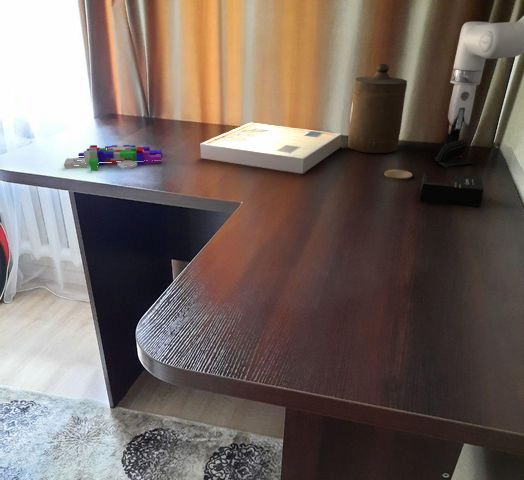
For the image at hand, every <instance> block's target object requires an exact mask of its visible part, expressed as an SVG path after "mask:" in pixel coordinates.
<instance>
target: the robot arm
mask: <svg viewBox="0 0 524 480" xmlns="http://www.w3.org/2000/svg"><path fill="white" fill-rule="evenodd" d="M455 53H456V54H455V57H454V63H453V68H452V72H451V77H450V84H453V88H452V93H451V97H450V101H449V106H448V107H449V108H448V113H447V119H448V122H449V126H448V131H447V135H446V138H445V143H444V145H446V144H448V143H452V142H455V141H459V140H460V136H461V131H462V128H463V123H464V125H465V126H468V125H470V121H471V116H472V112H473V108H474V107H473V106H474V101H475V95H476V89H477V86H479V85H480V84H481V81H482V76H483V72H484V68H485V63H486V60H487V59H488V60H493V59H495V60H497V59H504V58H515V57H518V56H520V55H522V54H524V15H523V16H522V17H521V18H520V19H518V20H517V21H505V22H492V23H491V22H488V21H467V22H464V24H463V25H462V27H461V30H460V33H459V39H458V43H457V49H456V52H455Z"/></svg>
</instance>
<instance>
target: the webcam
mask: <svg viewBox="0 0 524 480" xmlns="http://www.w3.org/2000/svg"><path fill="white" fill-rule="evenodd" d="M467 147H468V142H467V141H466V140H465V139H459V141H455V142H452V143H448V144H446V145H445V144H444V145H443V146H442V147H441V149H440V150H439V152H438V154H437V155H436V156H434V160H435V161H436V162H437V163H438V164H439V165H441V166H443V167H445V168H454V167H462V166H470V165H473V162H472V161H470V160H468V159H465V158H463V156H462V155H463V154H464V153H465V151H466V149H467Z"/></svg>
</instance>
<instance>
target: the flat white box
mask: <svg viewBox="0 0 524 480" xmlns="http://www.w3.org/2000/svg"><path fill="white" fill-rule="evenodd" d="M342 137H343V134H342V133H339V132H330V131H322V130H314V129H313V130H312V129H307V128H305V129H304V128H298V127H289V126H281V125H271V124H270V125H269V124H265V123H254V122H249V123H246V124H244V125H241V126H240V127H237V128H235V129H232V130H229V131H228V132H225V133H222V134H220V135H218V136H215V137H212V138H211V139H208V140H206V141H203V142H201V143H199V148H200V158H201V159H204V160H211V161H218V162H224V163H231V164H237V165H243V166H250V167H257V168H262V169H263V168H264V169H268V170H269V169H270V170H275V171H282V172H288V173H295V174H302V175H303V174H305V173H306V172H307V171H309V170H310V169H311V168H313V167H315V166H316V165H317V164H318V163H320V162H322V161H323V160H324V159H326V158H327V157H329V156H330V155H331V154H333V153H334V152H335V151H337V150H339V149H340V148H341V145H342Z"/></svg>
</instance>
